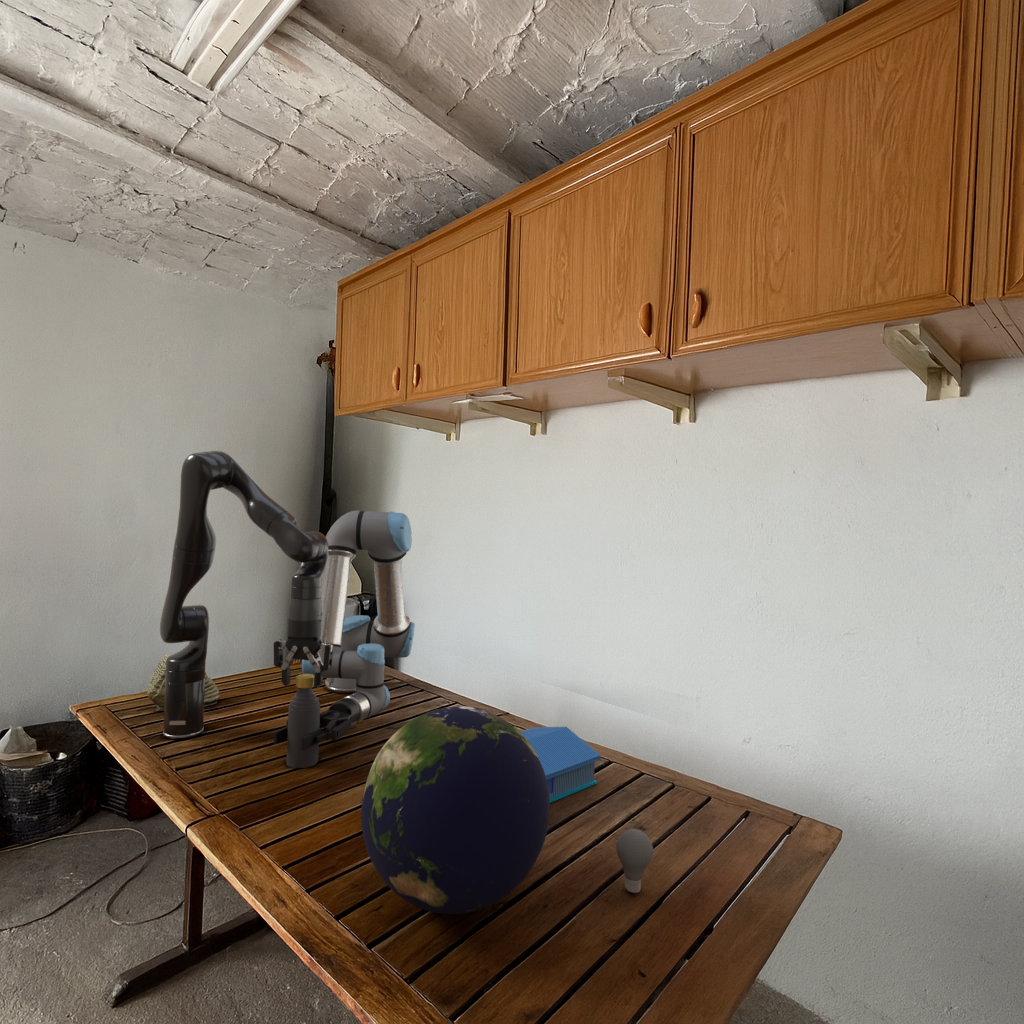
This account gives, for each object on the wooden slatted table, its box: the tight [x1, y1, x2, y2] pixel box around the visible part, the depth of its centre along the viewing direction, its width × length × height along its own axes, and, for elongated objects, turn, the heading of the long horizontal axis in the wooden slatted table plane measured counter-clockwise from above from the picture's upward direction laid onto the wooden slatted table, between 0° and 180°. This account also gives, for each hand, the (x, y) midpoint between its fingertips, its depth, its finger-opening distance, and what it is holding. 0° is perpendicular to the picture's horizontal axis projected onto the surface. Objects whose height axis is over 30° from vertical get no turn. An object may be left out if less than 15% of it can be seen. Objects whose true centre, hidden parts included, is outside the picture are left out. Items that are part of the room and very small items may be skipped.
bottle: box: [285, 687, 321, 769], centre depth 150 cm, size 7×7×20 cm
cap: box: [295, 673, 314, 689], centre depth 150 cm, size 4×4×2 cm
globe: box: [360, 705, 551, 915], centre depth 102 cm, size 30×30×30 cm
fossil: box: [147, 654, 221, 712], centre depth 185 cm, size 9×18×15 cm, turn 132°
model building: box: [519, 726, 601, 804], centre depth 139 cm, size 39×24×10 cm, turn 132°
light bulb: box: [615, 828, 654, 894], centre depth 106 cm, size 6×6×10 cm
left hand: (302, 685), depth 149 cm, fingers open, 7 cm apart
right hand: (289, 741), depth 146 cm, fingers closed on bottle, 7 cm apart
